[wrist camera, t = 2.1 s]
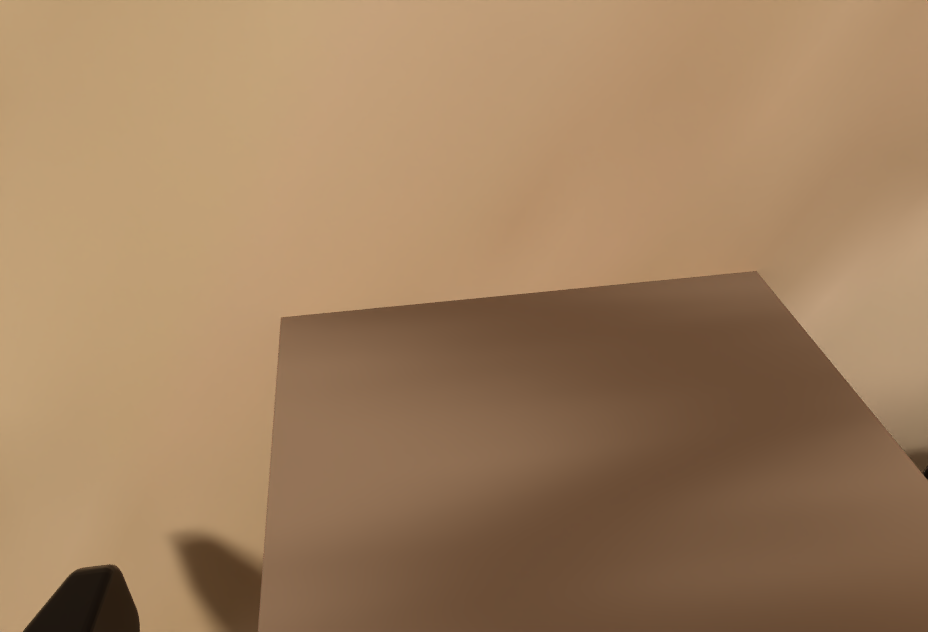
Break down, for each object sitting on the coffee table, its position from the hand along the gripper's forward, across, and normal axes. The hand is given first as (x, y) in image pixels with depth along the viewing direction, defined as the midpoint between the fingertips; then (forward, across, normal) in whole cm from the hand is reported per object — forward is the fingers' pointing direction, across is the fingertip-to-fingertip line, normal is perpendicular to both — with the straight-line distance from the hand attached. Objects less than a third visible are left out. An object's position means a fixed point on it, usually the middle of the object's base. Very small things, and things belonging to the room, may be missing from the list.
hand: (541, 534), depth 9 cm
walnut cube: (+1, 0, 0) cm, 1 cm away
